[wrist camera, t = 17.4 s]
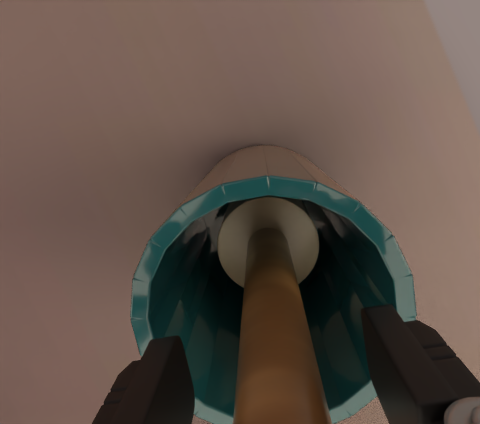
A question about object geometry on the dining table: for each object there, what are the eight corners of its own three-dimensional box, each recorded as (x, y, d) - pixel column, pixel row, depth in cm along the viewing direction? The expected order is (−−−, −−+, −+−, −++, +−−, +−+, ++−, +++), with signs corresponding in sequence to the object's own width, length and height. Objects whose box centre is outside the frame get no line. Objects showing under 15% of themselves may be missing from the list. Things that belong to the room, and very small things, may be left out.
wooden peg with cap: (234, 259, 26) (162, 693, 6) (219, 185, 25) (76, 434, 5) (310, 247, 25) (483, 670, 6) (298, 171, 24) (462, 384, 5)
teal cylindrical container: (212, 284, 27) (166, 452, 14) (184, 159, 25) (98, 206, 12) (339, 264, 26) (427, 419, 13) (321, 132, 24) (401, 150, 11)
